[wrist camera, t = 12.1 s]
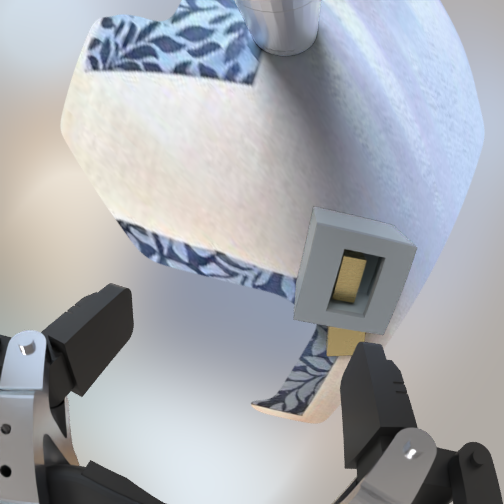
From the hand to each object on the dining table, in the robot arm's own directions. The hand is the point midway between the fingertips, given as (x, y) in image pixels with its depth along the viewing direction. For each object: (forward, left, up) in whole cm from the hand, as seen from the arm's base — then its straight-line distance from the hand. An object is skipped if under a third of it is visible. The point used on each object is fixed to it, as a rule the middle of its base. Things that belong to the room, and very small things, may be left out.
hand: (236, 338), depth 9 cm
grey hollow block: (+7, +10, -32) cm, 34 cm away
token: (+20, +14, -32) cm, 41 cm away
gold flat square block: (+11, +10, -28) cm, 32 cm away
